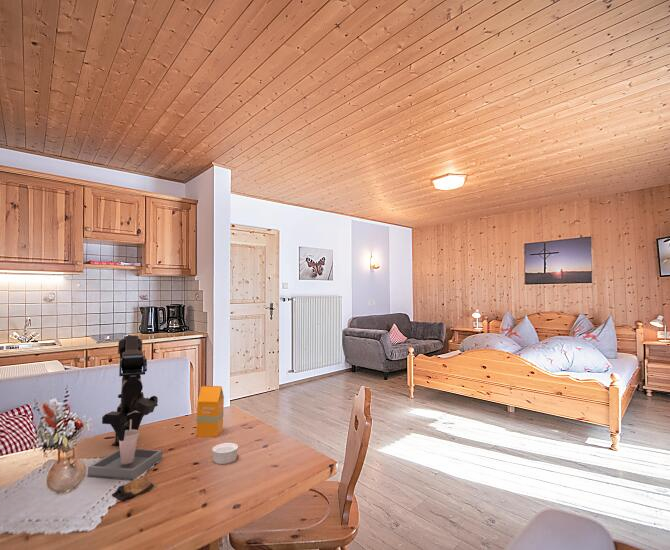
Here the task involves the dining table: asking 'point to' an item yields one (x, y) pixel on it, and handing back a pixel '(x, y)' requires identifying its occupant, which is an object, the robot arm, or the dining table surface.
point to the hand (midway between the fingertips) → (128, 437)
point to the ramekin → (224, 453)
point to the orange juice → (210, 412)
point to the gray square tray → (124, 465)
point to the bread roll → (133, 489)
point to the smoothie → (128, 445)
